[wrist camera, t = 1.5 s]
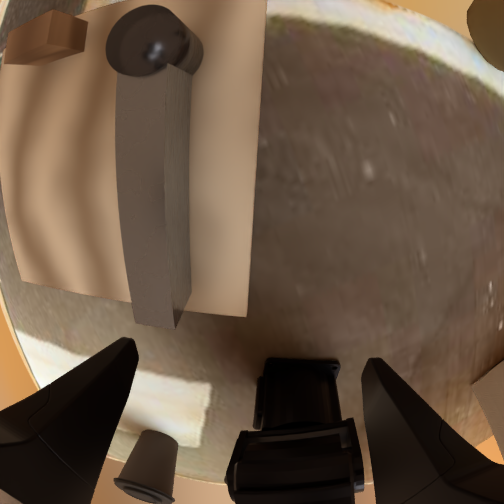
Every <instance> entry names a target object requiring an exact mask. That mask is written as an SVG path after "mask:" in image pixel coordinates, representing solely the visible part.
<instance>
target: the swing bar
mask: <svg viewBox="0 0 504 504" xmlns="http://www.w3.org/2000/svg"><path fill="white" fill-rule="evenodd" d="M105 51H106V58H107V60H108V63H109V64H110V66H111V67H112V68H113V69H114V70H115V71H117V83H116V105H115V159H116V181H117V196H118V209H119V220H120V229H121V238H122V246H123V254H124V261H125V267H126V274H127V280H128V286H129V292H130V297H131V303H132V308H133V313H134V318H135V322H136V323H138V324H143V325H149V326H155V327H161V328H167V329H174V330H175V329H176V326H177V324H178V322H179V320H180V317H181V315H182V313H183V311H184V308H185V306H186V304H187V302H188V300H189V297H190V295H191V293H192V286H191V265H190V235H189V139H190V110H191V90H192V76H193V75H194V74H195V72H196V71H197V70H198V68H199V67H200V65H201V63H202V60H203V55H204V50H203V45H202V43H201V41H200V39H199V38H198V37H197V36H196V35H195V34H194V33H193V32H192V31H191V30H190V29H189V28H188V27H187V26H186V25H185V24H184V23H183V22H182V21H181V20H180V19H179V18H178V17H177V16H176V15H175V14H174V13H173V12H172V11H171V10H169V9H168V8H166V7H164V6H160V5H154V4H153V5H144V6H140V7H137V8H135V9H133V10H131V11H129V12H127V13H126V14H125V15H123V16H122V17H121V18H120V19H119V20H118V21H117V22H116V23H115V25H114V26H113V27H112V29H111V31H110V33H109V35H108V38H107V41H106V48H105Z"/></svg>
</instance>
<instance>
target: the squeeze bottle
mask: <svg viewBox="0 0 504 504" xmlns="http://www.w3.org/2000/svg"><path fill="white" fill-rule="evenodd" d="M467 24H468V28H469V32H470V35H471V37H472V39H473V41H474V43H475V45H476V47H477V49H478V50H479V51H480V53H481V54H482V55H483V56H484V58H485V59H486V60H487V61H488V62H489V63H490V64H491V65H493V66H494V67H495V68H497V69H498V70H500V71H503V72H504V0H474V1H473V3H472V4H471V6H470V7H469V9H468V11H467Z"/></svg>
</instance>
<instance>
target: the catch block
mask: <svg viewBox="0 0 504 504" xmlns="http://www.w3.org/2000/svg"><path fill="white" fill-rule="evenodd" d="M87 28H88V21H85V20H82V19H80V18H77V17H74V16H71V15H69V14H66V13H63V12H60V11H57V10H54V9H53V10H51V11H49V12H46V13H44V14H42V15H40V16H38V17H36V18H34V19H32V20H30V21H29V22H27V23H25V24H23V25H21V26H19V27H18V28H16V29H14V30H12V31H11V32H9V34H8V39H7V45H6V51H5V58H4V64H13V65H32V66H42V65H45V64H48V63H51V62H53V61H56V60H59V59H62V58H65V57H68V56H71V55H75V54H78V53H81V52H84V49H85V41H86V34H87Z"/></svg>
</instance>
